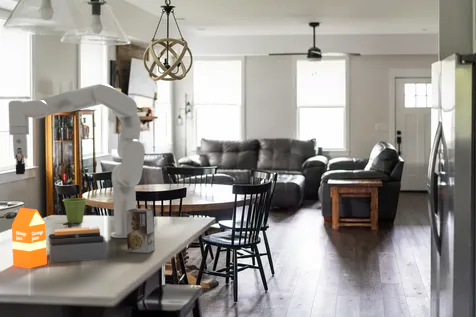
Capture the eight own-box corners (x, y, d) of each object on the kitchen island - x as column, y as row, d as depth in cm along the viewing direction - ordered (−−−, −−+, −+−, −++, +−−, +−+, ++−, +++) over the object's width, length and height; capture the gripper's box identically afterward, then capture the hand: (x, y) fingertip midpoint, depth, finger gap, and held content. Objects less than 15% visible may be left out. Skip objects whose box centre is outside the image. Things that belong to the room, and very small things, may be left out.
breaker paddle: (97, 229, 251) (97, 226, 251) (99, 232, 245) (99, 228, 245) (54, 232, 246) (54, 228, 246) (55, 235, 240) (54, 231, 240)
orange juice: (29, 268, 228) (27, 210, 226) (12, 265, 232) (10, 209, 231) (47, 263, 234) (45, 208, 233) (30, 261, 239) (28, 206, 238)
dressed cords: (99, 235, 255) (99, 230, 255) (103, 242, 242) (103, 236, 242) (48, 239, 249) (48, 233, 249) (49, 245, 236) (49, 240, 236)
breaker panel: (102, 250, 257) (102, 228, 256) (107, 258, 242) (107, 235, 241) (49, 254, 251) (48, 231, 250) (50, 262, 235) (49, 239, 235)
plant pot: (84, 224, 320) (83, 201, 320) (60, 224, 321) (59, 201, 320) (90, 220, 332) (89, 198, 332) (66, 220, 332) (66, 198, 332)
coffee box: (155, 250, 256) (154, 208, 255) (147, 253, 250) (146, 211, 249) (134, 248, 259) (133, 208, 258) (126, 252, 253) (125, 210, 252)
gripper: (28, 131, 258) (29, 174, 260) (29, 130, 275) (30, 171, 276) (8, 131, 256) (9, 175, 257) (10, 130, 273) (11, 172, 274)
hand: (20, 173), depth 267 cm, fingers open, 9 cm apart
